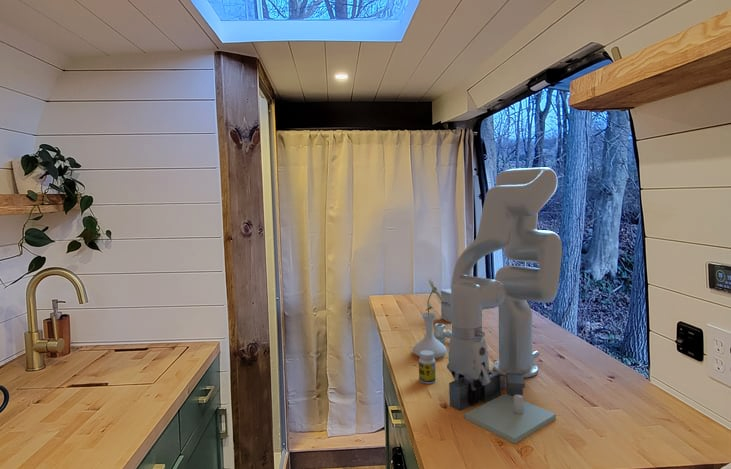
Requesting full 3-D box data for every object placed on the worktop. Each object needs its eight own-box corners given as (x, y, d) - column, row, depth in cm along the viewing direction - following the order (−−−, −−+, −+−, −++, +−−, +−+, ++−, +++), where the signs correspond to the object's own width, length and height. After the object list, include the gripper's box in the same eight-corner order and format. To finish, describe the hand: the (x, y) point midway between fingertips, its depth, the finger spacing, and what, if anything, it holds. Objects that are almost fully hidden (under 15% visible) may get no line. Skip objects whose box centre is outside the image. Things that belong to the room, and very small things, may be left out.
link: (491, 382, 125) (490, 362, 125) (510, 390, 120) (510, 369, 120) (445, 403, 114) (445, 380, 114) (464, 412, 109) (464, 389, 109)
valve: (434, 345, 156) (468, 345, 155) (433, 327, 156) (468, 327, 154) (433, 339, 163) (466, 339, 161) (433, 321, 162) (466, 321, 161)
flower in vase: (443, 363, 140) (441, 286, 138) (408, 359, 144) (406, 284, 142) (451, 349, 152) (449, 277, 150) (418, 345, 156) (416, 276, 154)
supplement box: (440, 319, 187) (440, 289, 186) (455, 316, 190) (454, 287, 189) (451, 323, 180) (450, 293, 179) (465, 320, 183) (465, 290, 182)
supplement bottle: (416, 381, 128) (415, 353, 127) (424, 375, 132) (423, 348, 131) (430, 385, 125) (429, 356, 124) (438, 379, 129) (438, 351, 128)
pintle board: (512, 391, 119) (512, 369, 119) (565, 413, 107) (565, 388, 107) (461, 416, 107) (461, 392, 107) (514, 443, 95) (514, 416, 95)
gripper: (503, 336, 108) (503, 407, 110) (452, 321, 122) (453, 385, 124) (483, 343, 104) (484, 417, 106) (433, 327, 117) (434, 393, 119)
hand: (468, 399), depth 115 cm, fingers closed on link, 3 cm apart
